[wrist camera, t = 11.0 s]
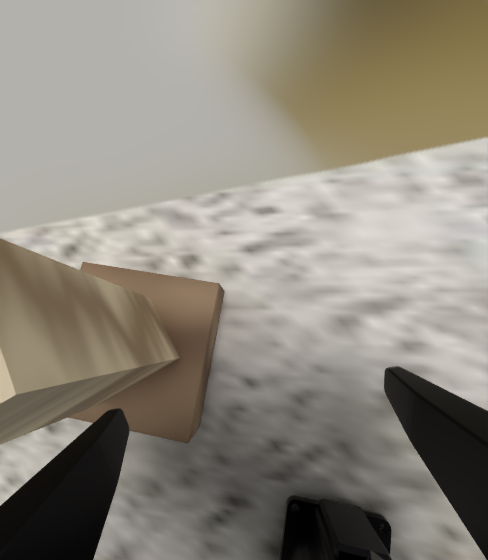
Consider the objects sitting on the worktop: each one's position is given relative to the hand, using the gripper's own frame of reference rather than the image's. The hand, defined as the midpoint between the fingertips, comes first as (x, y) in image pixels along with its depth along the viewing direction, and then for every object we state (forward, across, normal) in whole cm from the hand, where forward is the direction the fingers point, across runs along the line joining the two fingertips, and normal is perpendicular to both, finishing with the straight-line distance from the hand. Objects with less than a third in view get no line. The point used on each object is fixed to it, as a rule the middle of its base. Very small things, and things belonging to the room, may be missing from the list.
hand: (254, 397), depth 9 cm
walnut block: (+11, +8, +4) cm, 14 cm away
